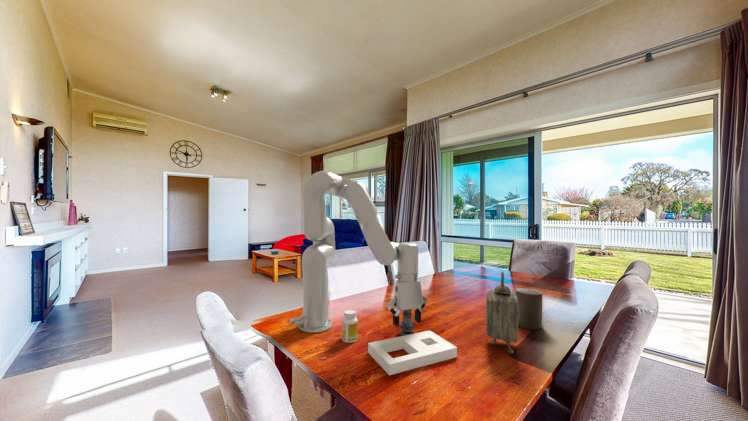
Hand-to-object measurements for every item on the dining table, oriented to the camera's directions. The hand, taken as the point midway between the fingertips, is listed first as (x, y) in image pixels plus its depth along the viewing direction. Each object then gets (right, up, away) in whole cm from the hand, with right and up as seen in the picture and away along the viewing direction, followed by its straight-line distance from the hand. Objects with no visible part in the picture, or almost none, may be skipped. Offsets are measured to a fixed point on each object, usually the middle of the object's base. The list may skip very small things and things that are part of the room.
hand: (407, 323), depth 107 cm
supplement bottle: (-21, -4, -6) cm, 22 cm away
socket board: (0, -4, -16) cm, 16 cm away
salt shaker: (0, -4, 0) cm, 4 cm away
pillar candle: (+50, -5, +10) cm, 51 cm away
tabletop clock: (+31, -4, -8) cm, 32 cm away
